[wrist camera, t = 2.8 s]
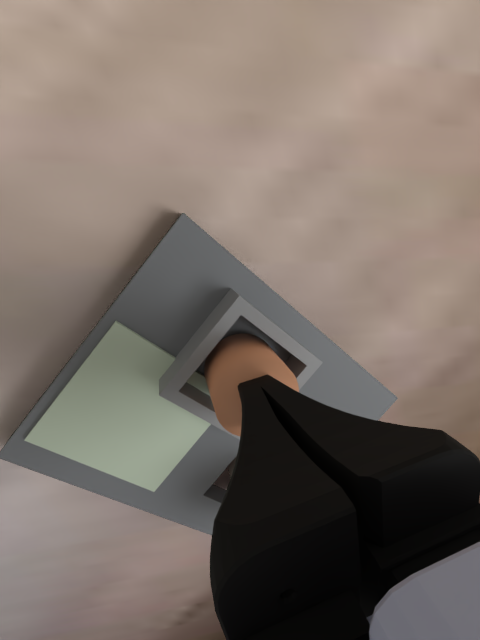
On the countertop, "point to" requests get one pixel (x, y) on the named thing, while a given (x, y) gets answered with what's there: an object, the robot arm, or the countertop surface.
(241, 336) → the orange round piece
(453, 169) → the countertop surface
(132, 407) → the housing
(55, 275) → the countertop surface
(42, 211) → the countertop surface
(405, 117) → the countertop surface
